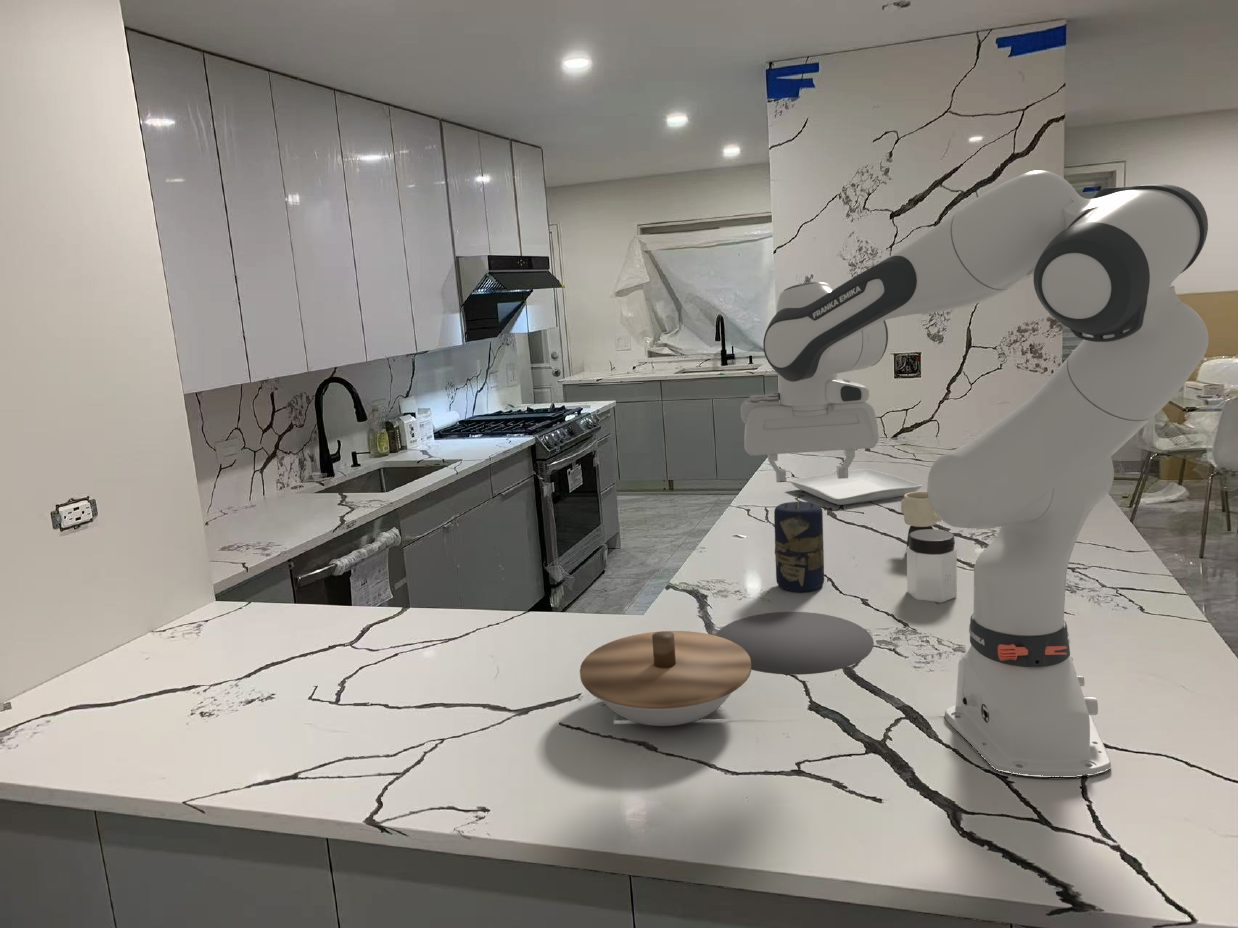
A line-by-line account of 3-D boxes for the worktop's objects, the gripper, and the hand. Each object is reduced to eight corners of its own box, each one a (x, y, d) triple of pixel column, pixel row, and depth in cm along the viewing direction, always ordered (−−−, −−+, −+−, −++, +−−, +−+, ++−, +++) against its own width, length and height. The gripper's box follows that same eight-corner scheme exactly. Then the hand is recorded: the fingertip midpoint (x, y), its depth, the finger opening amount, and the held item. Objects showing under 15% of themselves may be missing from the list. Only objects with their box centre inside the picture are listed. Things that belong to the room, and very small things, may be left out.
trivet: (887, 674, 137) (887, 672, 137) (712, 678, 140) (712, 675, 140) (860, 611, 163) (859, 609, 163) (713, 615, 167) (713, 613, 167)
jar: (934, 606, 163) (934, 544, 161) (898, 595, 170) (898, 535, 168) (965, 594, 168) (965, 533, 166) (928, 584, 175) (928, 526, 172)
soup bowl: (649, 664, 147) (647, 627, 146) (779, 697, 132) (777, 656, 131) (552, 725, 129) (548, 683, 128) (689, 771, 114) (686, 723, 113)
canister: (770, 592, 177) (766, 505, 173) (784, 577, 185) (781, 494, 181) (817, 597, 172) (814, 507, 169) (830, 581, 180) (827, 496, 177)
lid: (755, 706, 116) (754, 669, 115) (568, 710, 119) (564, 674, 118) (747, 633, 141) (745, 602, 140) (591, 637, 143) (589, 607, 142)
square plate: (787, 491, 261) (787, 478, 260) (868, 479, 269) (868, 467, 268) (836, 511, 235) (836, 496, 235) (924, 497, 243) (924, 483, 242)
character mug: (952, 554, 192) (952, 496, 189) (929, 561, 188) (929, 502, 186) (913, 544, 201) (912, 488, 199) (890, 550, 198) (890, 493, 195)
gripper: (740, 398, 133) (745, 488, 136) (879, 388, 131) (882, 479, 134) (738, 393, 139) (743, 479, 142) (871, 384, 137) (873, 471, 140)
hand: (811, 479), depth 138 cm, fingers open, 8 cm apart
